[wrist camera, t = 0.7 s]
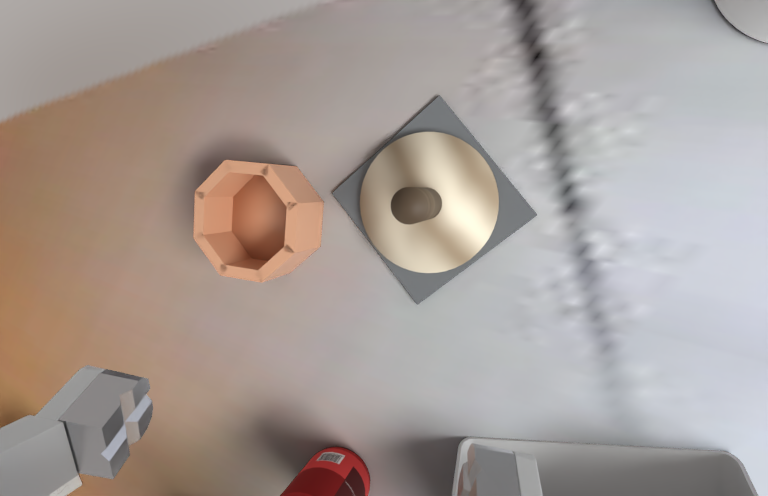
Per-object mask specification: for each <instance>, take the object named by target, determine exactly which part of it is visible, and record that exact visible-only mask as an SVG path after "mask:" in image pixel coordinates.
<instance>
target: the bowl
mask: <svg viewBox="0 0 768 496" xmlns="http://www.w3.org/2000/svg"><path fill="white" fill-rule="evenodd" d="M323 205H324V201H323V200H322V199H321V198H320V196H319V195H318V194H317V192H316V191H315V190H314V188H313V187H312V186H311V184H310V183H309V182H308V180H307V179H306V178H305V177H304V175H303V174H302V173H301V171H300V170H299V169H298V167H296V166H286V165H276V164H265V163H254V162H243V161H233V160H224V161H223V162H222V164H221V165H220V166H219V167H218V168H217V169H216V170H215V171H214V172H213V173H212V174H211V175H210V176H209V177H208V178H207V179H206V180H205V181H204V182H203V183H202V184H201V185H200V186H199V187H198V189H197V190H196V191H195V204H194V235H193V238H194V240H195V241H196V242H197V244H198V245H199V247H200V248H201V249H202V251H203V252H204V254H205V255H206V256H207V258H208V259H209V260H210V262H211V263H212V265H213V266H214V267H215V269H216V270H217V272H218V273H219V274H220V275H221V276H227V277H233V278H239V279H245V280H250V281H256V282H265V281H268V280H271V279H274V278H277V277H280V276H283V275H285V274H288V273H291V272H292V271H293V270H294V269H295V268H296V267H298V266H299V265H300V264H301V263H302V262H303V261H304V260H306V259H307V258H308V257H309V256H310V255H311V254H312V253H314V252H315V251H316V250H317V249H318V248H319V247H321V233H322V219H323Z"/></svg>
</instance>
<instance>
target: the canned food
mask: <svg viewBox="0 0 768 496" xmlns="http://www.w3.org/2000/svg"><path fill="white" fill-rule="evenodd" d="M369 489H370V476H369V472H368V469H367V467H366V465H365V463H364V462H363V461H362V459H361V458H360V457H359V456H358V455H356V454H355V453H354V452H352V451H350V450H348V449H345V448H342V447H330V448H326V449H324V450H322V451H320V452H318V453H317V454H315V455H314V456H313V457H312V458H311V460H310V461H309V462H308V463H307V464H306V466H305V467H304V468H303V469H302V470H301V471H300V473H299V474H298V475H297V476H296V477H295V479H294V480H293V481H292V482H291V483H290V485H289V486H288V487H287V488H286V489H285V491H284V492H283V493H282V494H281V495H280V496H368V493H369Z"/></svg>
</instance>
